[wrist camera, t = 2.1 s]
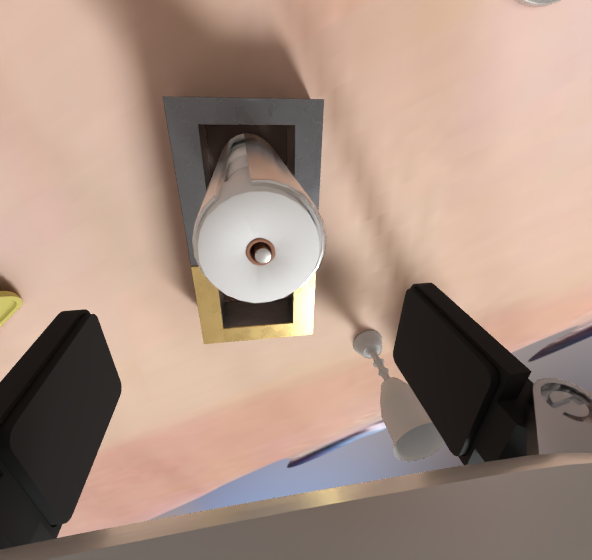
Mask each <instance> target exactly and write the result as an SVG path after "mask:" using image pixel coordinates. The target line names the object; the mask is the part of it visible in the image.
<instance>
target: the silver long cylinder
mask: <svg viewBox="0 0 592 560" xmlns="http://www.w3.org/2000/svg"><path fill="white" fill-rule="evenodd" d="M192 243H193V250H194V257H195V259H196V261H197V264H198V266H199V268H200V270H201V272H202V273H203V275H204V276H205V277H206V278H207V280H208V281H209V282H210V283H211V284H212V285H213V286H214V287H216V288H217V289H219V290H220V291H221V292H223V293H224V294H226V295H228V296H230V297H233V298H235V299H238V300H240V301H245V302H251V303H262V302H270V301H274V300H278V299H281V298H284V297H286V296H287V295H289V294H291V293H292V292H294V291H296V290H297V289H298V288H299V289H301V288H302V287H303V286H304V285H305V284H307V283H308V282H309V281H310V280H311V279H312V277H313V276H314V274H315V273H316V272H317V270H318V269H319V267H320V265H321V262H322V259H323V256H324V254H325V246H326V232H325V227H324V222H323V219H322V217H321V215H320V213H319V211H318V209H317V207H316V205H315V204H314V203H313V201H312V200H311V199H310V197H309V196H308V195H307V193H306V192H305V191H304V189H303V188H302V187H301V185H300V184H299V183H298V181H297V180H296V179H295V177H294V176H293V175H292V173H291V172H290V171H289V169H288V168H287V167H286V165H285V164H284V163H283V161H282V160H281V159H280V157H279V156H278V155H277V153H276V152H275V151H274V149H273V148H272V147H271V145H270V144H269V143H268V142H267V141H266V140H264V139H263V138H261V137H260V136H257V135H254V134H240V135H237V136H235V137H233V138H232V139H230V140H229V141H228V142H227V143H226V144H225V146H224V148H223V150H222V152H221V154H220V157H219V160H218V162H217V165H216V168H215V170H214V173H213V176H212V178H211V181H210V184H209V186H208V189H207V192H206V194H205V197H204V200H203V202H202V205H201V208H200V210H199V213H198V216H197V218H196V221H195V225H194V231H193V237H192Z"/></svg>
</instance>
